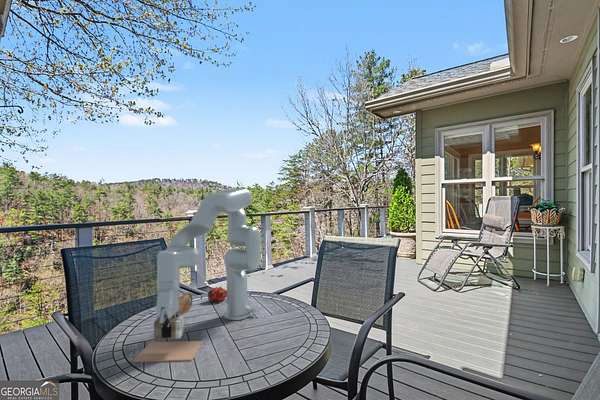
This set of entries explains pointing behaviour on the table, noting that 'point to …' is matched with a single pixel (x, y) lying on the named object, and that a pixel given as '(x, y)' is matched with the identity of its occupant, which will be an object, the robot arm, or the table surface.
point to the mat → (169, 351)
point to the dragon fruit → (217, 294)
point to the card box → (175, 328)
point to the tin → (184, 303)
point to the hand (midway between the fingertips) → (169, 334)
